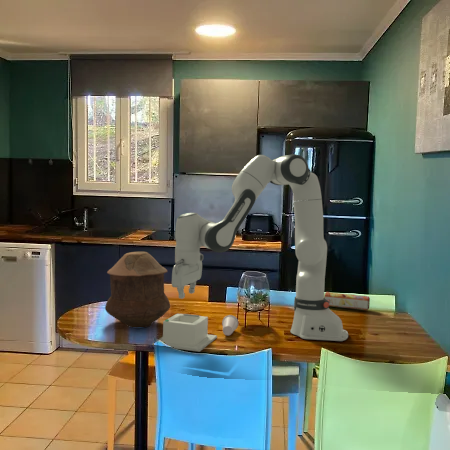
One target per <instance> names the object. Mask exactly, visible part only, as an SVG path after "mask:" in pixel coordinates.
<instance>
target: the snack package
mask: <svg viewBox="0 0 450 450" xmlns="http://www.w3.org/2000/svg"><path fill="white" fill-rule="evenodd" d="M324 298H325V299H326V300H329V307H333V308H346V309H356V310H364V311H368V310H369V309H370V301H371V300H370V299H371V298H370V296H368V295H357V294H351V293H350V294H349V293H348V294H347V293H339V292H330V291H325V292H324Z"/></svg>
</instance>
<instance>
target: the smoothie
mask: <svg viewBox="0 0 450 450" xmlns="http://www.w3.org/2000/svg"><path fill="white" fill-rule="evenodd" d="M221 322H222V323H221V325H222V333H223V335H225V336H231V335H232V334H233V333H234V331H236V330H237V328H238V327H239V320H238V318H237V317H236V316H234V315H232V314H229V315H225V316H224V317H223V319H222V321H221Z"/></svg>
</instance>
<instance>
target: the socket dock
mask: <svg viewBox="0 0 450 450" xmlns="http://www.w3.org/2000/svg"><path fill="white" fill-rule="evenodd" d="M162 324H163V325H162V336H161V337H160V338H159V339H157V340H161V341H163V342H165V343H166V344H168V345H170V346H171V347H174V348H173V349H177V350H185V351H191V352H192V351H193V352H201V351H203V350H204V349H205V348H206V347H207V346H208V345H210V344H211V343H212V342H213V341H215V340H216V339H217V338H218V335H215V334H208V332H209V331H208V328H209V327H208V326H209V325H208V324H209V317H208V316H202V315H199V314H198V315H197V314H191V313H190V314H189V313H176V314H174V315H172V316H171V317H169V318H166V319H164V320H163V321H162ZM151 346H154V342H152V345H151Z"/></svg>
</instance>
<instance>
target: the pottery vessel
mask: <svg viewBox="0 0 450 450" xmlns="http://www.w3.org/2000/svg"><path fill="white" fill-rule="evenodd" d="M106 273H107V274H108V275H109V281H110V296H109V298H108V299H107V300H106V303H105V306H104V309H105V311H106V313H107V314H109V315H110V316H111V317H113V318H115V319H116V320H118V321H119V322H121V323H123V324H125V325H126V326H127V325H128V326H127V327H129V326H130V327H129V328H133V327H144V328H149V327H151V326H152V325H153V323H155V322H156V321H157V320H159V319H160V318H162V317H163V316H164V315H165V314H166V313H167V312H168V311H169V310H170V309H171V303H170V300H169V298H168V296H167V295H166V293H165V274H167V273H168V269H166V267H164V266H162V265H161V264H160V263H159V262H158V261H157V260H156V259H155V257H153V256H152V255H151V254H150V253H149V252H147V251H131V252H127V253H125V254H123V256H121V258H119V260H118V261H116V263H114V265H113V266H112V267H111V268H110V269H108V270H107V272H106ZM148 326H149V327H148Z"/></svg>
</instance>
